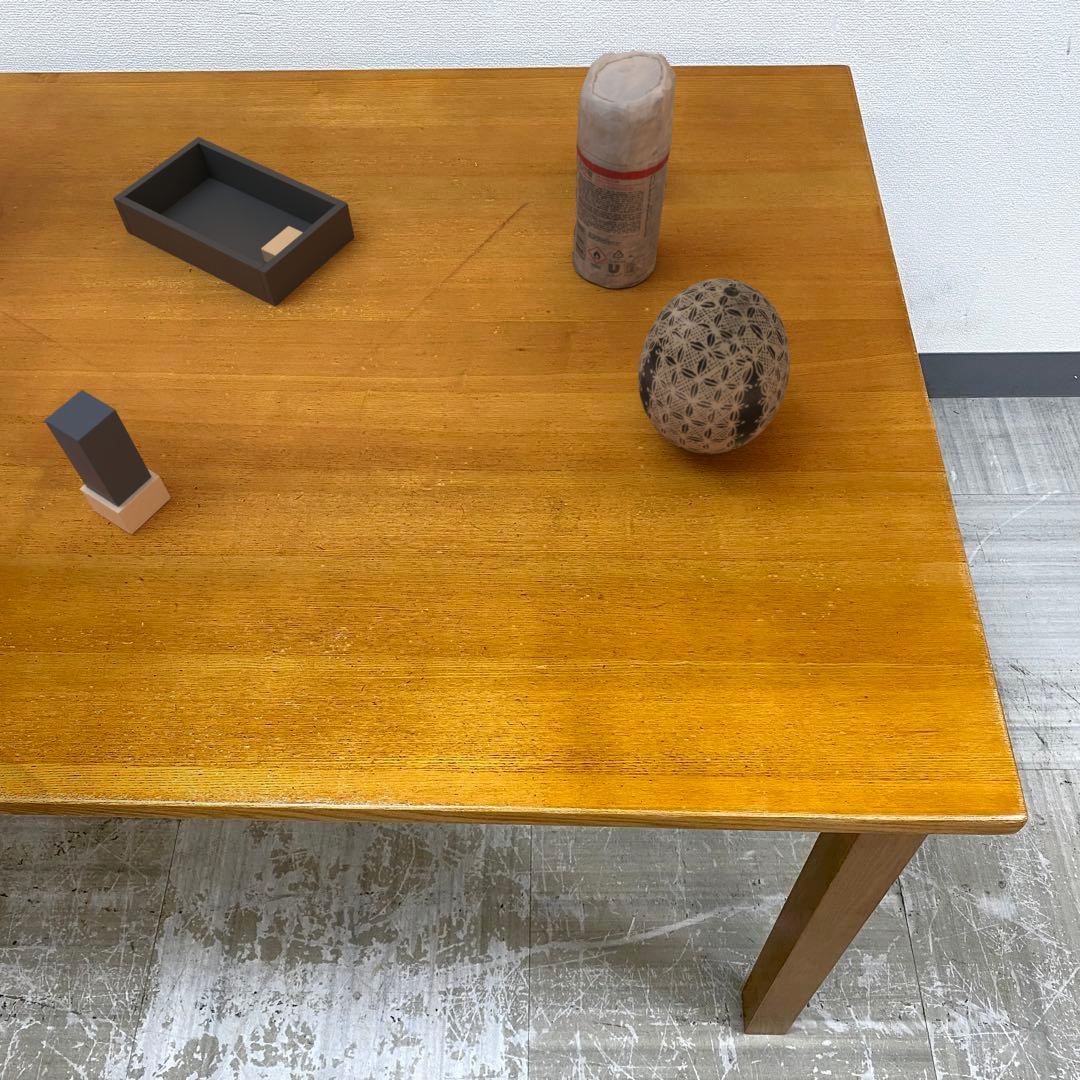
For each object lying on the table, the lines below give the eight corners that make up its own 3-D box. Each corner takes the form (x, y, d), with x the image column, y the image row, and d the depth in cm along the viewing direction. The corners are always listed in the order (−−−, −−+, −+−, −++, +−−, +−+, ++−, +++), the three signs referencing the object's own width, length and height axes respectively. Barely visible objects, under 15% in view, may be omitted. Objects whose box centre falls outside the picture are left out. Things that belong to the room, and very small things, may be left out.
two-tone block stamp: (93, 510, 82) (35, 421, 73) (133, 474, 84) (82, 383, 75) (131, 535, 81) (77, 447, 72) (171, 498, 83) (123, 407, 74)
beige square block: (264, 261, 98) (260, 248, 96) (292, 238, 100) (288, 225, 98) (295, 277, 96) (292, 263, 95) (323, 253, 98) (320, 240, 97)
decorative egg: (611, 400, 88) (619, 264, 75) (732, 364, 90) (760, 225, 78) (669, 502, 82) (688, 371, 69) (797, 459, 84) (839, 326, 71)
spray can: (677, 269, 97) (701, 72, 81) (609, 305, 95) (619, 109, 78) (622, 223, 101) (635, 26, 84) (555, 256, 98) (555, 59, 82)
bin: (129, 236, 101) (112, 198, 97) (211, 175, 106) (198, 136, 103) (276, 311, 95) (264, 272, 91) (355, 242, 100) (347, 202, 96)
